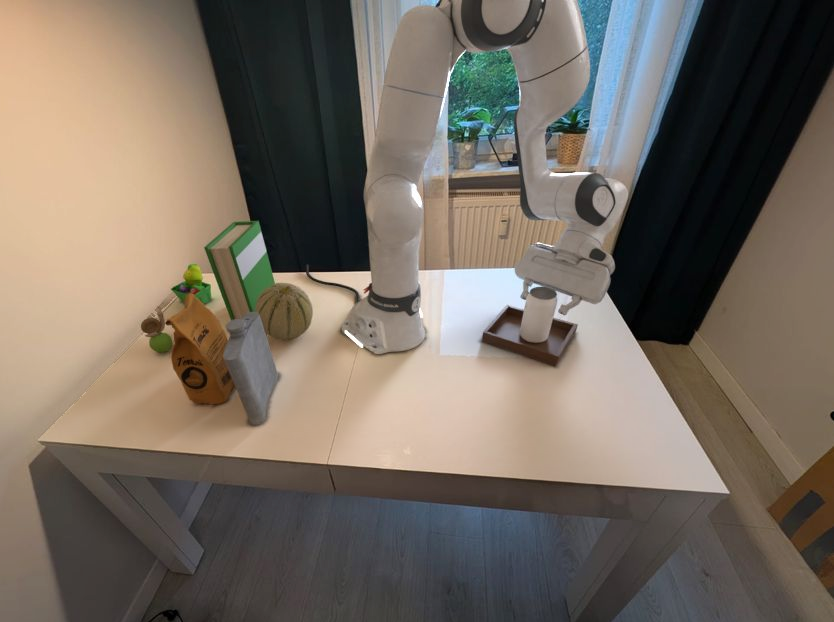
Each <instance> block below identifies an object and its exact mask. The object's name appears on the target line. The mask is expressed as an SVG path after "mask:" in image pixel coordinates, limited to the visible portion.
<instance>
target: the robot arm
mask: <svg viewBox="0 0 834 622" xmlns="http://www.w3.org/2000/svg"><path fill="white" fill-rule="evenodd" d="M392 41H393V42H392V45H391V47H390V52H389V56H388V60H387V65H386V69H385V74H384V79H383V85H382V93H381V99H380V102H379V103H380V104H379V109H378V116H377V123H376V127H375V128H376V130H375V133H374V135H375V136H374V140H373V144H372V148H371V153H370V156H369V160H368V161H369V162H368V167H367V171H366V177H365V183H364V187H363V203H364V209H365V215H366V222H367V223H366V226H367V238H368V254H369V257H368V258H369V267H370V279H371V282H370V283H369V284H368V285H367V286H366V287H365V288H364V289H362V291H363V294H364V295H365V294H368V295H366V296H365V297H363V298H361V297H360V294H359V291H358V290H357V289H356V288H353V287H351V286H348V285H345V284H343V283H337V282H331V281H323V280H321V279H318V278H315V277H313V276H311V274H310V269H309V267H310V265H309V264H308V263H307V264H306V265H305V274H306V276H307V278H308V279H309V280H311V281H313V282H315V283H318V284H321V285H323V286H324V285H325V286H331V287H338V288H342V289H345V290H347V291H351V292H352V293H353V294H355V299H356V302H355V304H354V305H352V307H351V309H350V311H349V317H348V318H347V319H346V320H345V321H344V322H343V324H342V326H341V332H342V333H343V334H344V335H345V336H347V337H349V338H350V339H351V340H352V341H353V342H354V343H356V344H357V345H358V346H359V347H360V348H366V349H367V350H368V351H370V352H372V353H373V354H375V355H383V354H386V353H390V352H391V353H392V352H395V353H397V352H405V351H409V350H412V349H415V348H416V347H418V346H419V345H421V344H422V343H423V341H424V340H425V338H426V331H425V327H424V325H423V322H422V318H423V317H424V315H423V312H422V310H421V300H422V292H421V291H422V290H421V283H420V282H419V280H420V272H419V271H420V248H421V242H422V235H423V234H422V233H423V224H424V218H425V217H424V214H425V213H424V211H425V210H424V202H423V200H422V197H421V196H420V194H419V191H418V187H419V186H418V185H419V181H420V177H421V175H422V172H423V170H424V167H425V164H426V163H427V160H428V157H429V154H430V153H431V151H432V150H433V148H434V145H435V142H436V136H437V133H438V129H439V124H440V121H441V116H442V112H443V108H444V104H445V100H446V96H447V92H448V87H449V82H450V77H451V75H452V73H453V70H454V67H455V65H456V63H457V62H458V60H459V59H460V58H461V56H462V55H463V54H465V52H468V53H471V54H484V53H485V54H486V53H489V52H492V53H493V52H499V51H503V50H506V51H507V52H508V53H509V55H510V57H511V60H512V61H513V65H514V70H515V74H516V79H517V84H518V88H519V105H518V107H517V108H516V111H515V113H514V117H513V133H514V143H515V151H516V159H517V160H516V161H517V166H518V167H517V168H518V175H519V184H520V190H519V206H520V209H521V211H522V213H523V215H524V216H525V217H526V218H527V219H528V220H530V221H558V222H566V223H567V225H568V226H567V227H566V228H565V229H564V230H563V231H562V233H561V234H560V236H559V238H558V240H557V241H556V243H555V244H554V245H549V244H545V243H541V242H537V243H533V244H531V245H529V246H528V247H527V249H526V250H525V253H524V254H523V256H522V257H521V259H520V260H519V261H518V263H517V264H516V265H515V267H514V274H515V276H516V277H517V278H518V279H520V280H523V282H522V290H523V291H522V292H521V294H520V297H519V298H520V299H522V300H523V301H526V298H527V296H528V294H529V293H530V291H529V288H531V287H532V286H533V284H535V285H536V286H537V285H538V286H539V287H547V288H551V289H553V290H554V291H556V293H557V292H558V293H560V294H563V295H566V296H568V297H571V301H570V302H568V303H566V304H561V305H560V308H558V310H557V312H558V314H561V315H562V316H567V314H568V313H569V311H570V310H571V309H574V308H575V307H577V306H579V305H580V303H581V302H582V301H583V302H585V303H589V304H592V305H598V304H599V303H601V302H602V301H603V299H605V298H604V297H605V296H606V294H607V292H608V290H609V288H610V285H611V280H612V278H611V275H612V274H614V272H615V269H616V264H615V260H614V258H613V256H612V255H611V254H609V253H608V252H607V251H605V250H603V245H604V241H605V239H606V238H607V236H608V235H609V234H610V233H611V232H613V230H614V228H615V227H616V225H617V223H618V221H619V220H620V218H621V216H622V213H623V211H624V210H625V208H626V204H627V202H628V198H629V190H628V188H627V187H626V186H625V184H624V183H622V181H620V180H617V179H614V178H609V177H606V178H605V177H604V175H602V174H601V173H598V172H572V173H571V172H569V173H568V172H567V173H556V172H553V171H551V170H550V169H549V167H548V160H547V146H546V145H547V144H546V133H547V132H546V131H547V129H548V127H549V126H551V125H552V124H554V123H555V122H557V121H558V120H560V119H561V118H562V117H564V116H565V115H566V114H568V113H569V112H570V111H571V110H572V109H573V108H574V107H575V106H576V105H577V104H578V103H579V101H580V100H581V99H582V97H583V96H584V94H585V92H586V90H587V88H588V86H589V83H590V78H591V61H590V60H591V59H590V52H589V45H588V41H587V34H586V29H585V23H584V20H583V15H582V12H581V8H580V5H579V2H578V0H438V2H437V3H436V4H435V6H434V5H430V4H423V5H416V6H414V7H412V8H410V9H408V10H407V11H406V12H405V13H404V14H403V15H402V16H401V18H400V20H399V23H398V24H397V28H396V31H395V34H394V37H393V40H392Z"/></svg>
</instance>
